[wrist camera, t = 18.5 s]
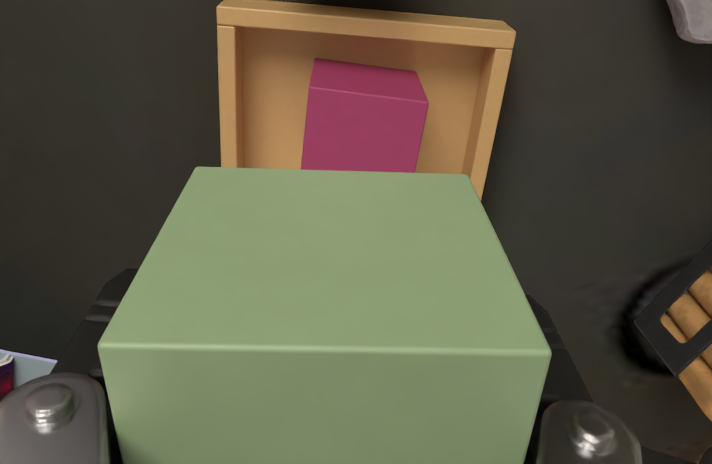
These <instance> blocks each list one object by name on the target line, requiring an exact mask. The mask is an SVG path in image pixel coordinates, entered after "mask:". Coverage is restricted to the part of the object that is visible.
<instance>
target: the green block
mask: <svg viewBox="0 0 712 464" xmlns="http://www.w3.org/2000/svg"><path fill="white" fill-rule="evenodd" d="M98 352H99V357H100V361H101V366H102V371H103V375H104V380H105V384H106V389H107V393H108V398H109V402H110V407H111V412H112V416H113V421H114V425H115V430H116V434H117V439H118V443H119V448H120V453H121V457H122V462H123V464H524V460H525V456H526V452H527V449H528V445H529V441H530V437H531V433H532V429H533V425H534V421H535V418H536V414H537V410H538V406H539V402H540V398H541V394H542V391H543V387H544V383H545V379H546V375H547V371H548V367H549V363H550V360H551V355H552V352H551V349H550V347H549V345H548V343H547V341H546V338H545V336H544V334H543V332H542V330H541V328H540V326H539V324H538V322H537V319H536V317H535V315H534V313H533V311H532V309H531V307H530V305H529V302H528V300H527V298H526V296H525V294H524V292H523V290H522V288H521V286H520V283H519V281H518V279H517V277H516V275H515V273H514V271H513V269H512V267H511V264H510V262H509V260H508V258H507V256H506V254H505V252H504V250H503V248H502V245H501V243H500V241H499V239H498V237H497V235H496V233H495V231H494V229H493V226H492V224H491V222H490V220H489V218H488V216H487V214H486V212H485V210H484V207H483V205H482V203H481V201H480V199H479V197H478V195H477V193H476V191H475V188H474V186H473V184H472V182H471V180H470V178H469V176H468V175H466V174H438V173H403V172H368V171H332V170H297V169H261V168H226V167H196V168H195V169H194V171H193V173H192V175H191V177H190V178H189V180H188V182H187V184H186V186H185V187H184V189H183V191H182V193H181V195H180V196H179V198H178V200H177V202H176V204H175V205H174V207H173V209H172V211H171V213H170V214H169V216H168V218H167V220H166V222H165V223H164V225H163V227H162V229H161V231H160V232H159V234H158V236H157V238H156V240H155V242H154V243H153V245H152V247H151V249H150V251H149V252H148V254H147V256H146V258H145V260H144V261H143V263H142V265H141V267H140V269H139V270H138V272H137V274H136V276H135V278H134V279H133V281H132V283H131V285H130V287H129V288H128V290H127V292H126V294H125V296H124V297H123V299H122V301H121V303H120V305H119V306H118V308H117V310H116V312H115V314H114V315H113V317H112V319H111V321H110V323H109V324H108V326H107V328H106V330H105V332H104V333H103V335H102V337H101V339H100V341H99V343H98Z"/></svg>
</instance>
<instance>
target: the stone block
mask: <svg viewBox="0 0 712 464" xmlns="http://www.w3.org/2000/svg"><path fill="white" fill-rule="evenodd" d="M666 1H667V3H668V6H669V8H670V11H671V14H672V17H673V24H674V26H675V28H676V32H677V34H678V37H680V38H681V39H683V40H687V41H689V42H692V43H709V44H712V0H666Z"/></svg>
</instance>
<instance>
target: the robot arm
mask: <svg viewBox="0 0 712 464" xmlns="http://www.w3.org/2000/svg"><path fill="white" fill-rule="evenodd" d="M138 270H139V269H126V270H124V271H123V272H122V273H120V274H119V275H117V276H116V277H114V278H113V279H112V280H110V281H109V282H107V283H106V284H105V286H104V287H103V289H102V291H101V292H100V294H99V295H98V297H97V299H96V300H95V304H94V305H92V307H91V308H90V310H89V311H88V313H87V315H86V316H85V321H82V323H81V324H80V326H79V327H78V329H77V331H76V332H75V334H74V335H73V337H72V339H71V340H70V342H69V343H68V345H67V347H66V348H65V350H64V351H63V353H62V355H61V356H60V358H59V359H58V361H57V363H56V364H55V366H54V367H53V369H52V371H51V372H50V374H48V375H44V376H41V377H38V378H35V379H32V380H30V381H28V382H26V383H24V384H22V385H20V386H19V387H17V388H15V389H14V390H13V391H11V392H10V393H9V394H8V395H7V396H6V397H5V398H3V400H2V401H1V402H0V464H123V462H122V457H121V453H120V448H119V443H118V439H117V434H116V430H115V425H114V421H113V416H112V412H111V407H110V402H109V398H108V393H107V389H106V384H105V380H104V375H103V371H102V366H101V361H100V357H99V352H98V343H99V341H100V339H101V337H102V335H103V333H104V332H105V330H106V328H107V326H108V324H109V323H110V321H111V319H112V317H113V315H114V314H115V312H116V310H117V308H118V306H119V305H120V303H121V301H122V299H123V297H124V296H125V294H126V292H127V290H128V288H129V287H130V285H131V283H132V281H133V279H134V278H135V276H136V274H137V272H138ZM525 296H526V298H527V300H528V302H529V305H530V307H531V309H532V311H533V313H534V315H535V317H536V319H537V322H538V324H539V326H540V328H541V330H542V332H543V334H544V336H545V338H546V341H547V343H548V345H549V347H550V349H551V352H552V355H551V360H550V363H549V367H548V371H547V375H546V379H545V383H544V387H543V391H542V394H541V398H540V402H539V406H538V410H537V414H536V418H535V421H534V425H533V429H532V433H531V437H530V441H529V445H528V449H527V452H526V456H525V460H524V464H696V463H693V462H690V461H686V460H683V459H680V458H676V457H673V456H670V455H666V454H663V453H660V452H656V451H653V450H650V449H648V448H645V447H643V446H640V443H639V441H638V438H637V436H636V435H635V433H634V432H633V430H632V429H631V428H630V427H629V426H628V424H627V423H626V422H624V421H623V420H622V419H621V418H620V417H618V416H617V415H616V414H614V413H613V412H611V411H609V410H608V409H606V408H604V407H602V406H600V405H597V404H594V403H593V401H592V399H591V397H590V395H589V393H588V391H587V389H586V387H585V385H584V383H583V381H582V379H581V377H580V375H579V373H578V371H577V369H576V367H575V365H574V363H573V361H572V359H571V357H570V355H569V353H568V351H567V350H565V349H564V346H565V345H564V343H563V341H562V340H561V338H560V336H559V334H557V330H556V328H555V326H554V324H553V322H552V320H551V318H550V316H549V314H548V312H547V311H546V310H545V309H544V308H543V307H542V306H540V305H539V304H538V303H537V302H536V301H535V300H534V299H533V298H532V297H530V296H529V295H525ZM699 464H712V447H710V448H709V449H707V451H706V452H705V453H704V455H703V456H702V458H701V460H700V462H699Z"/></svg>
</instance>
